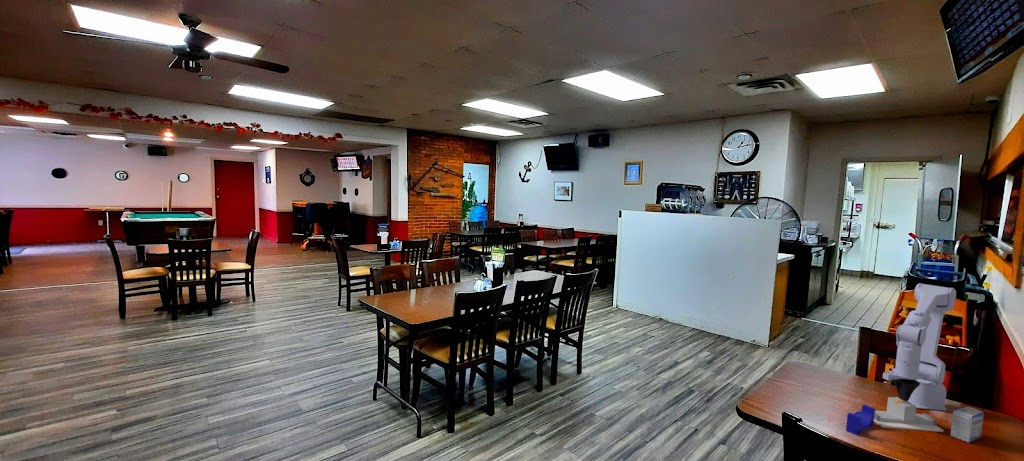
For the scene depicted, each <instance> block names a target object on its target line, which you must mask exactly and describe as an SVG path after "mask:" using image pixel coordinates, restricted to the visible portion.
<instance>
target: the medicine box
mask: <svg viewBox="0 0 1024 461" xmlns="http://www.w3.org/2000/svg"><path fill="white" fill-rule="evenodd" d="M984 415H985V414H984V411H982V410H979V409H977V408H973V407H969V406H966V405H965V406H963V407H960V408H957V409H956V410H952V419H951V426H950V427H951V428H950V436H951V437H952V438H955V439H958V440H960V439H961V441H963V442H965V441H966V443H968V444H970V443H972V442H973V441H976V440H977V439H980V438H981V437H982V430H983V424H984V423H983V422H984V421H983V420H984ZM971 441H972V442H971ZM969 442H970V443H969Z"/></svg>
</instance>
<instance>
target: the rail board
mask: <svg viewBox="0 0 1024 461" xmlns="http://www.w3.org/2000/svg"><path fill="white" fill-rule="evenodd" d="M874 423H876V424H877V425H879V427H881V428H885V429H886V428H888V429H901V430H912V431H913V430H915V431H927V432H928V431H929V432H939V433H940V432H941V433H944V432H945V431H944V429H942V428H941V427H940V426H938V425H937V419H935V418H934V417H933V416H931V415H929V414H927V413H925V412H922V414H921V413H916V415H915V420H910V421H903V420H901V419H900V418H898V417H896V416H894V415H893V414H891V413H889V412H887V410H886V411H884V410H883V411H882V410H875V415H874Z"/></svg>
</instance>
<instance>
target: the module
mask: <svg viewBox="0 0 1024 461" xmlns="http://www.w3.org/2000/svg"><path fill="white" fill-rule="evenodd" d="M886 412H889V413H891V414H893V415H894V416H896V417H898V418H900V419H901V420H903V421H910V420H915V415H916V414H917V408H916V406H915V405H913V404H911V403H910V402H908V401H903V400H901V399H899V396H893V397H892V396H889V397H887V404H886Z"/></svg>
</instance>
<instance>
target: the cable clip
mask: <svg viewBox="0 0 1024 461" xmlns="http://www.w3.org/2000/svg"><path fill="white" fill-rule="evenodd" d="M875 411H876V408H874V407H872V406H869V405H866V404H863V405H861V410H859V411H856V412H854V413H851V412H848V413H847V417H846V427H845V432H848V433H850V434H853V435H855V436H859V435H860V434H862V433H863V432H865V431H866V430H868V429H870V428H872V427H873V426H874V425H875V424H874V423H875V421H874V415H875Z"/></svg>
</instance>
